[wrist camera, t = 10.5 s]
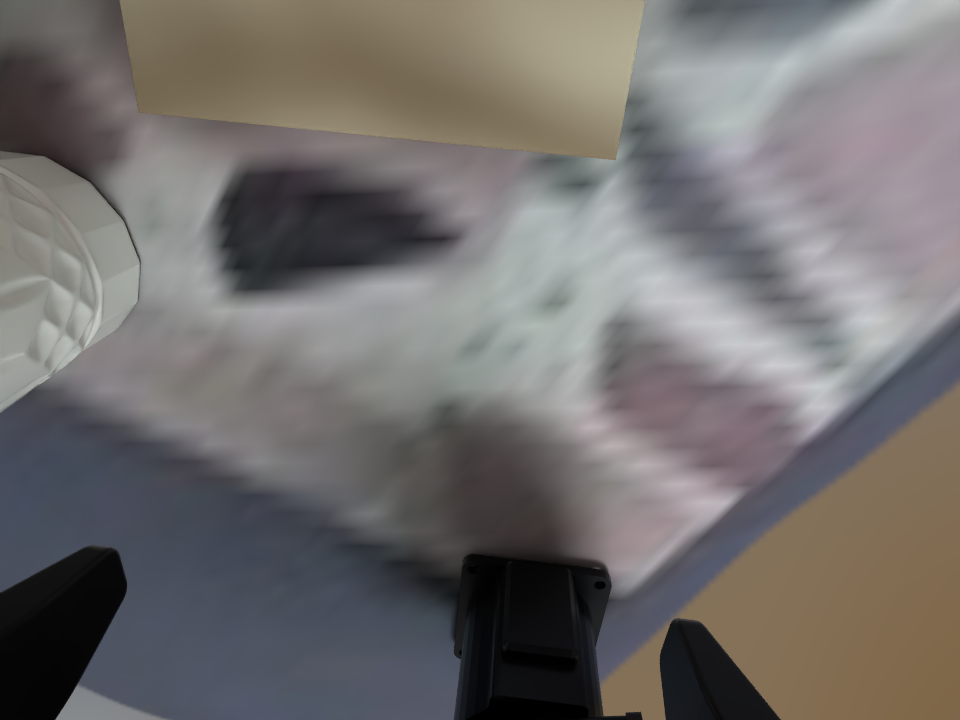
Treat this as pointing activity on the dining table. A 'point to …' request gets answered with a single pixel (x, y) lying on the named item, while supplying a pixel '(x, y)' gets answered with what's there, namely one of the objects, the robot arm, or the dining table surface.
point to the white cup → (56, 271)
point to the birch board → (395, 67)
